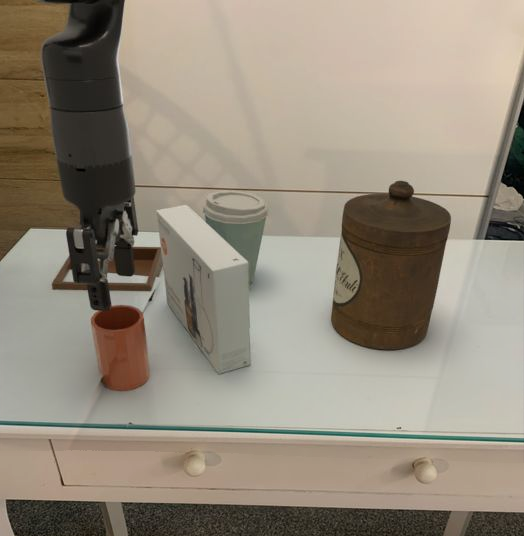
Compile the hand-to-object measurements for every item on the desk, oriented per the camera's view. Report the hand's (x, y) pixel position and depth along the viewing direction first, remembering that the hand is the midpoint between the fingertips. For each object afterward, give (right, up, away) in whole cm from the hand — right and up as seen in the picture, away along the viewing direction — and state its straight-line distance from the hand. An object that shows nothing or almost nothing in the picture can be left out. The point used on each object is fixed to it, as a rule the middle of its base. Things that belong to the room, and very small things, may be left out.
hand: (114, 291), depth 66 cm
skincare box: (+9, -5, +17) cm, 19 cm away
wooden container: (+36, -3, +20) cm, 41 cm away
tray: (-8, +5, +29) cm, 31 cm away
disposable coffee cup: (+13, +5, +30) cm, 33 cm away
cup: (0, -10, +7) cm, 13 cm away
